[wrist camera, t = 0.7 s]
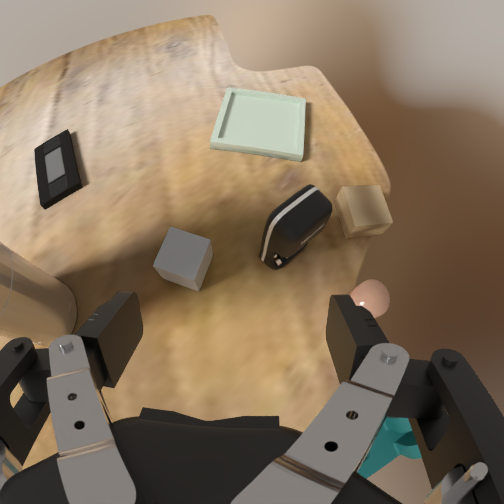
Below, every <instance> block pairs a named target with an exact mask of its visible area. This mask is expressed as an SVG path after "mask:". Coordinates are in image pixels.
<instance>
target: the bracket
mask: <svg viewBox="0 0 504 504" xmlns="http://www.w3.org/2000/svg"><path fill="white" fill-rule="evenodd" d="M399 455H404V456H406V457H408V458H413V459H418V458H422V456H421V453H420V450H419V448H418V445H417V442H416V439H415V436H414V433H413V431H412V428H411V425H410V423H409V420H408V418H399V417H388V416H387V417H386V420H385V422H384V424H383V426H382V428H381V430H380V431H379V433H378V435H377V437H376V439H375V441H374V443H373V445H372V447H371V448H370V450H369V452H368V454H367V456H366V457H365V459H364V461H363V463H362V465H361V466H360V468H359V470H358V471H357V473H359V474H360V475H362V476H363V477H364V478H368V477H369V476H371V475H372V474H374V473H375V472H377V471H378V470H379V469H381V468H382V467H384V466H385V465H386V464H388V463H389V462H391V461H392V460H393V459H394V458H396V457H397V456H399Z"/></svg>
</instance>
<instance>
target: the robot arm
mask: <svg viewBox="0 0 504 504" xmlns="http://www.w3.org/2000/svg"><path fill="white" fill-rule="evenodd" d="M76 318H77V306H76V301H75V298H74V295H73V293H72V292H71V290H70V289H69V288H68V287H67V286H66V285H65V284H63V283H62V282H60V281H59V280H57V279H55V278H54V277H52V276H50V275H49V274H47V273H46V272H44V271H43V270H41V269H40V268H38V267H36V266H35V265H33V264H32V263H30V262H29V261H27V260H26V259H24V258H23V257H21V256H20V255H18V254H17V253H15V252H14V251H12V250H11V249H9V248H8V247H7V246H5V245H4V244H2V243H1V242H0V336H4V337H8V338H12V339H13V340H11V341H10V342H8V343H7V344H6V345H5V346H4V347H3V348H2V350H1V351H0V504H402V503H401V502H399V501H398V500H396V499H394V498H393V497H391V496H390V495H388V494H387V493H386V492H384V491H383V490H381V489H380V488H378V487H377V486H376V485H374V484H373V483H371V482H370V481H368V480H367V479H366V478H364V477H363V476H362V475H360V474H359V473H357V471H358V470H359V468H360V466H361V465H362V463H363V461H364V459H365V457H366V456H367V454H368V452H369V450H370V448H371V447H372V445H373V443H374V441H375V439H376V437H377V435H378V433H379V431H380V430H381V428H382V426H383V424H384V422H385V420H386V417H387V416H388V417H399V418H408V420H409V423H410V425H411V428H412V431H413V433H414V436H415V439H416V442H417V445H418V448H419V450H420V453H421V456H422V459H423V462H424V465H425V468H426V471H427V474H428V478H429V481H430V484H431V487H432V491H431V492H430V493H429V494H428V495H427V497H426V499H425V503H424V504H504V417H503V415H502V413H501V412H500V410H499V409H498V407H497V405H496V404H495V402H494V401H493V399H492V397H491V396H490V394H489V393H488V391H487V390H486V388H485V387H484V386H483V384H482V382H481V381H480V379H479V378H478V376H477V375H476V373H475V372H474V371H473V369H472V368H471V366H470V365H469V364H468V362H467V361H466V359H465V358H464V357H463V356H462V355H461V354H460V353H458V352H456V351H454V350H451V349H439V350H436V351H435V352H434V353H433V354H432V356H431V359H430V361H425V360H414V359H409V355H408V353H407V352H406V350H404V349H403V348H402V347H400V346H398V345H395V344H390V343H389V341H388V340H387V338H386V336H385V335H384V333H383V331H382V330H381V328H380V327H379V326H378V323H377V322H376V320H375V318H374V317H373V315H372V314H371V312H370V311H369V310H367V309H366V308H364V307H363V306H356V304H355V303H354V301H353V299H352V298H351V296H350V295H349V294H347V295H331V297H330V302H329V310H328V318H327V325H326V340H327V344H328V347H329V351H330V354H331V357H332V360H333V363H334V366H335V369H336V373H337V376H338V379H339V382H340V386H339V387H338V389H337V390H336V392H335V393H334V394H333V396H332V397H331V398H330V400H329V401H328V402H327V404H326V405H325V406H324V407H323V409H322V410H321V411H320V413H319V414H318V415H317V416H316V418H315V419H314V420H313V421H312V423H311V424H310V425H309V426H308V427H307V429H306V430H305V431H304V432H300V431H298V430H295V429H292V428H288V427H284V426H279V416H241V417H235V418H229V419H222V420H214V421H204V420H200V419H197V418H193V417H190V416H187V415H183V414H180V413H177V412H174V411H166V410H158V409H151V408H144V407H143V408H142V410H141V413H140V416H139V417H130V418H125V419H121V420H118V421H115V422H113V420H112V417H111V415H110V412H109V410H108V407H107V405H106V402H105V399H104V397H103V394H102V392H101V389H102V387H103V386H105V387H111V388H115V386H116V384H117V382H118V380H119V378H120V377H121V375H122V373H123V371H124V369H125V367H126V365H127V364H128V362H129V360H130V358H131V356H132V354H133V353H134V351H135V349H136V347H137V345H138V343H139V342H140V340H141V338H142V335H143V322H142V317H141V312H140V307H139V301H138V296H137V294H136V293H135V292H122V291H119V292H117V293H116V294H115V296H114V297H113V298H112V299H111V300H110V301H109V302H106V303H105V304H103V305H101V306H100V307H98V308H97V309H96V311H95V312H94V313H93V315H91V316H90V317H89V319H88V320H87V321H86V322H85V323H84V324H83V325H82V327H81V328H80V329H79V330H78V331H77V332H76V334H75V335H71V333H72V331H73V329H74V326H75V323H76ZM33 343H34V344H39V345H44V346H49V348H45V349H35V347H34V345H33ZM18 382H19V384H20V386H21V388H22V390H23V392H24V393H23V395H22V396H21V398H20V399H19V401H18V402H17V404H16V405H15V407H14V408H13V407H12V406H11V403H10V394H11V392H12V391H13V389H14V388H15V387H16V385H17V384H18ZM446 410H447V411H446ZM50 412H51V416H52V422H53V428H54V433H55V438H56V442H57V447H58V451H59V452H58V453H56V454H54V455H52V456H50V457H48V458H46V459H44V460H42V461H40V462H38V463H36V464H34V465H32V466H30V467H28V468H26V469H24V470H22V466H23V464H24V462H25V460H26V458H27V456H28V454H29V452H30V450H31V448H32V446H33V444H34V442H35V440H36V438H37V436H38V434H39V433H40V431H41V429H42V427H43V425H44V423H45V421H46V420H47V418H48V416H49V414H50ZM447 412H448V413H447ZM448 415H449V416H448Z"/></svg>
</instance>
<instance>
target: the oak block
mask: <svg viewBox="0 0 504 504" xmlns="http://www.w3.org/2000/svg"><path fill="white" fill-rule="evenodd" d="M334 202H335V205H336V208H337V212H338V215H339V218H340V222H341V225H342V229H343V232H344V236H345V239H347V238H355V237H364V236H377V235H381V234H383V233H384V232H385V231H386V230H387V228H389V227H390V225H391V224H392V223H393V221H392V218H391V215H390V212H389V209H388V206H387V204H386V201H385V198H384V196H383V193H382V190H381V188H380V185H366V186H343V187H342V188H341V190H340V191H339V193H338V195H337V197H336V199H335V200H334Z"/></svg>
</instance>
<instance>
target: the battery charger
mask: <svg viewBox="0 0 504 504" xmlns="http://www.w3.org/2000/svg"><path fill="white" fill-rule="evenodd" d="M331 213H332V204H331V202H330V201H329V200H328V199H327V198H326V197H325V196H324V195H323V194H322V193H321V192H320V190H319V189H318V188H317V187H315V186H314V185H311V184H310V185H307V186H305V187H304V188H302V189H301V190H300V191H298V192H297V193H296V194H294V195H293V196H291V197H290V198H289V199H287V200H286V201H285V202H284V203H282V204H281V205H280V206H278V207H277V208H276V209H275V210H274V211H273V212H272V213H271V214H270V216H269V217H268V219H267V222H266V225H265V229H264V233H263V238H262V245H261V250H260V253H259V257H260V258H261V260H262V261H263V262H265V264H266V265H267V266H269V267H270V268H272V269H275V270H277V269H280V268H281V267H283V266H284V265H285V264H286V263H288V262H289V261H290V260H291V259H292V258H293V257H295V256H296V255H297V254H298V253H299V252H300V251H302V250H303V249H304V248H305V247H306V246H307V244H308V242H309V241H310V240H311V239H312V238H314V237H315V236H316V235H317V234H318V233H320V232H321V231H322V230H323V229H324V227H325V225H326V224H327V222H328V220H329V218H330V215H331Z"/></svg>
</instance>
